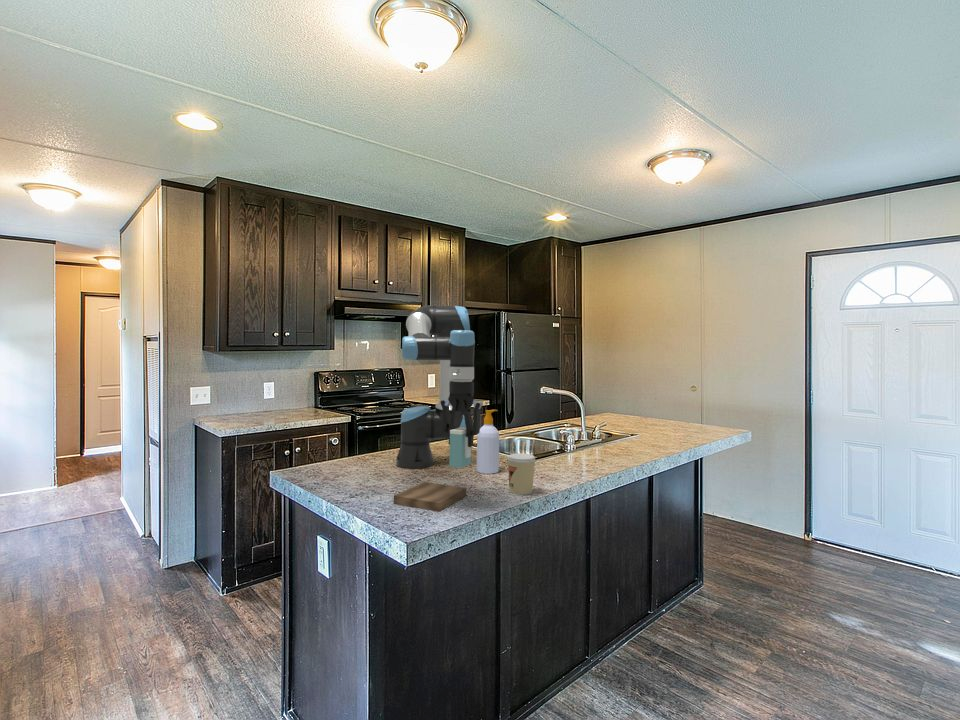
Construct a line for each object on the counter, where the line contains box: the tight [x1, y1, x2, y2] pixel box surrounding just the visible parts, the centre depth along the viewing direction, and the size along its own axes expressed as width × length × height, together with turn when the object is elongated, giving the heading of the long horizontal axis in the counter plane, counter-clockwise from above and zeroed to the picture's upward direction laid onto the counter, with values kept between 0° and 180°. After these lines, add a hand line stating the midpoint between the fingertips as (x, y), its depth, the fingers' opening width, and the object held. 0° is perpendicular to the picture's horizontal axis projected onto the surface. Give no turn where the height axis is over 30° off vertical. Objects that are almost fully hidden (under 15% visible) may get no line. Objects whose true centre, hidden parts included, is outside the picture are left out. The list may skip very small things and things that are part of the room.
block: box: [448, 427, 472, 469], centre depth 159 cm, size 4×7×11 cm, turn 156°
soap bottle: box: [476, 409, 500, 475], centre depth 201 cm, size 9×9×24 cm
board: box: [393, 481, 467, 512], centre depth 164 cm, size 16×18×2 cm
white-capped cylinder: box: [507, 452, 536, 496], centre depth 174 cm, size 9×9×12 cm
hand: (460, 456), depth 159 cm, fingers closed on block, 4 cm apart
